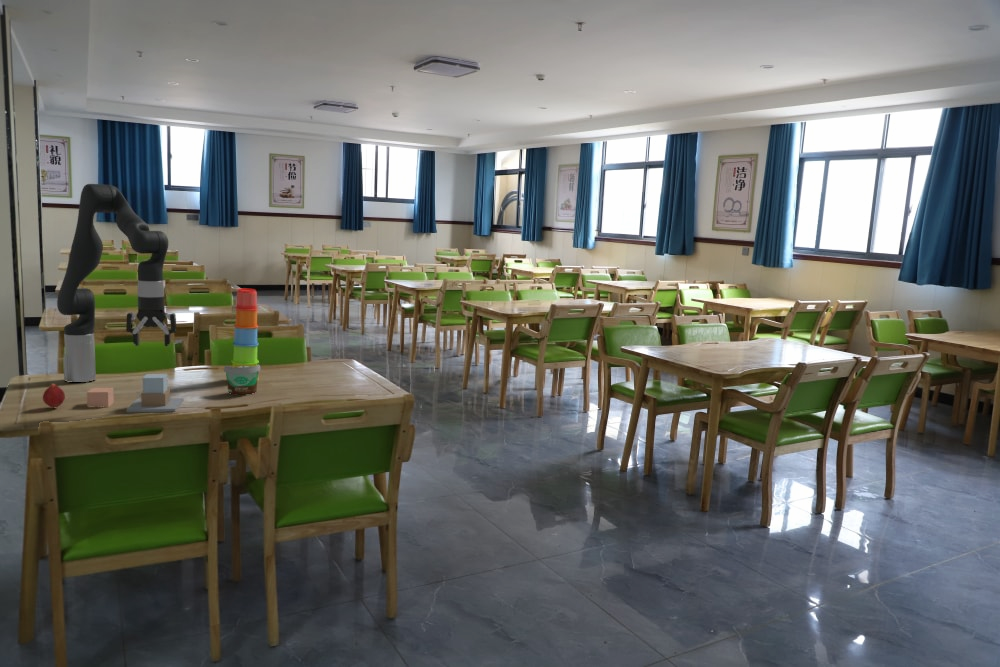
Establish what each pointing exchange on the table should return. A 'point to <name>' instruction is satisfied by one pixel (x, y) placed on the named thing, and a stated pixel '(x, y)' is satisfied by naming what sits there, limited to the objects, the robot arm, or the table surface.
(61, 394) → the onion
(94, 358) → the robot arm
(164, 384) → the brick
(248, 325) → the stacking cups
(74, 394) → the table surface
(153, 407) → the tower base
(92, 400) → the brick
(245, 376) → the food container
